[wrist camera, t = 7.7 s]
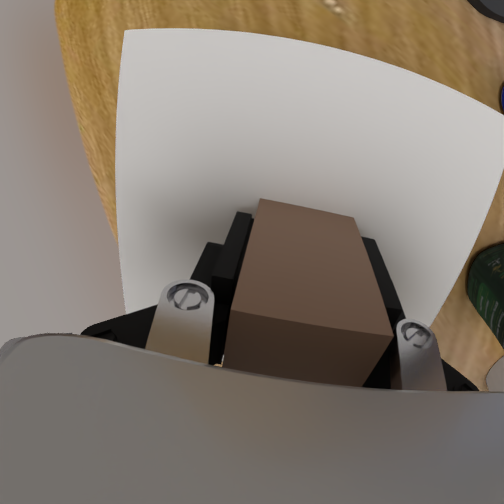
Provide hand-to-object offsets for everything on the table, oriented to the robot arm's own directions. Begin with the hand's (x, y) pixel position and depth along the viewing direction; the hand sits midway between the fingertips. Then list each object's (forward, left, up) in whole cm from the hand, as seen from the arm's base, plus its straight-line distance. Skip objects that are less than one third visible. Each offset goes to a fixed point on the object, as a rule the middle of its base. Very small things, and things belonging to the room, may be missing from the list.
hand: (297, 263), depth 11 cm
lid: (0, 0, -2) cm, 2 cm away
